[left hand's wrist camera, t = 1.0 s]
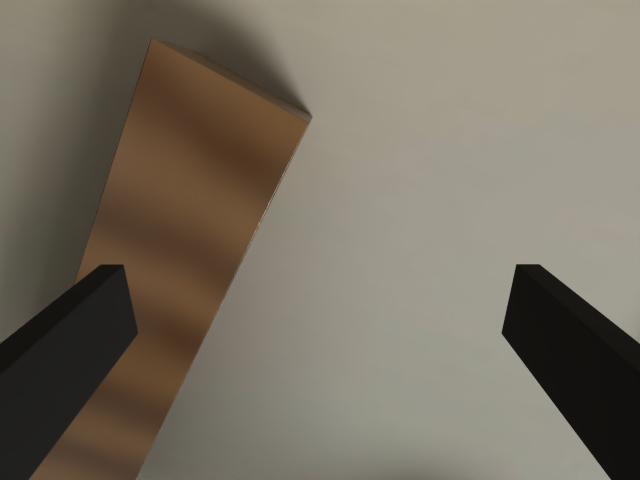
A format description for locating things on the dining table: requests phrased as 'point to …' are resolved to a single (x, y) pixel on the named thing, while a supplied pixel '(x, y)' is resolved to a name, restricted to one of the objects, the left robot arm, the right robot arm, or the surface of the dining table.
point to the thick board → (173, 240)
